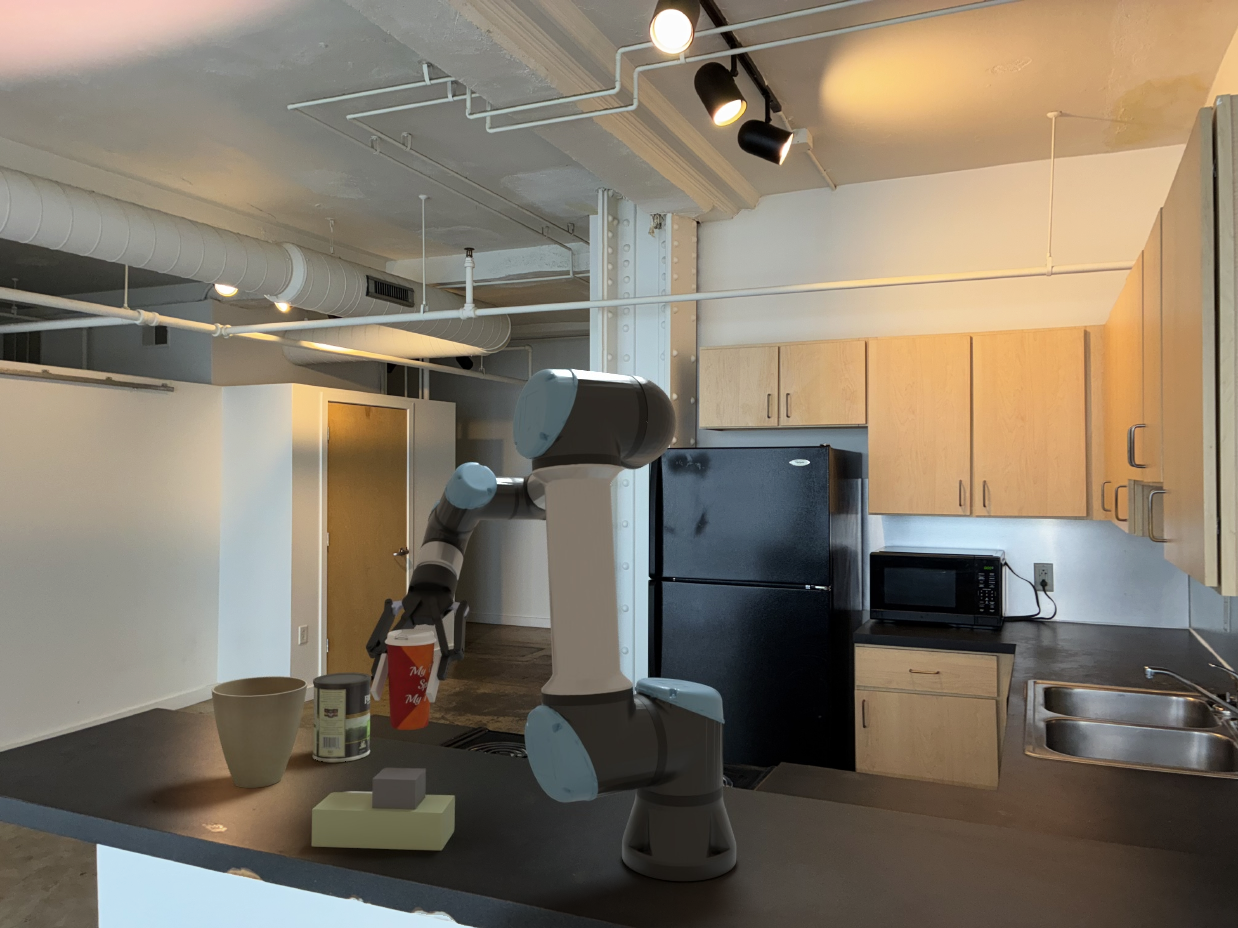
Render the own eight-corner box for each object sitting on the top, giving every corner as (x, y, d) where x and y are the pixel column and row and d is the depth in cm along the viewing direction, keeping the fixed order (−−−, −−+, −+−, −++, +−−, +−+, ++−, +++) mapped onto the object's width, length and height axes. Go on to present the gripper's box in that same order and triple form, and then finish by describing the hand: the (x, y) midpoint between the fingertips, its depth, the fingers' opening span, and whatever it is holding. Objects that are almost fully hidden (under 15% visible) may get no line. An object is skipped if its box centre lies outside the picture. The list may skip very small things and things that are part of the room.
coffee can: (368, 744, 170) (369, 670, 170) (372, 759, 160) (373, 681, 161) (311, 749, 166) (312, 673, 167) (312, 765, 157) (313, 685, 157)
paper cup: (421, 733, 130) (423, 637, 130) (374, 729, 131) (375, 635, 132) (444, 719, 137) (445, 629, 138) (398, 716, 139) (399, 626, 139)
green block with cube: (470, 806, 136) (471, 747, 137) (441, 850, 119) (442, 782, 120) (344, 802, 138) (345, 744, 138) (298, 845, 121) (299, 779, 121)
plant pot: (188, 791, 142) (191, 691, 143) (248, 764, 157) (249, 674, 157) (270, 799, 139) (272, 697, 139) (323, 771, 153) (324, 678, 154)
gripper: (499, 591, 149) (474, 712, 133) (381, 588, 151) (342, 707, 134) (493, 562, 144) (466, 684, 127) (370, 560, 146) (328, 680, 129)
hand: (402, 696), depth 131 cm, fingers closed on paper cup, 8 cm apart
